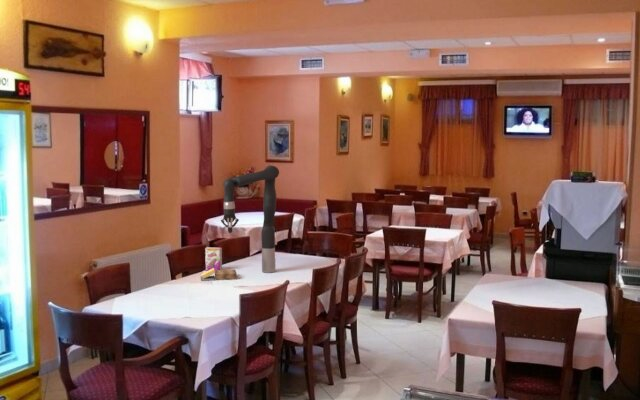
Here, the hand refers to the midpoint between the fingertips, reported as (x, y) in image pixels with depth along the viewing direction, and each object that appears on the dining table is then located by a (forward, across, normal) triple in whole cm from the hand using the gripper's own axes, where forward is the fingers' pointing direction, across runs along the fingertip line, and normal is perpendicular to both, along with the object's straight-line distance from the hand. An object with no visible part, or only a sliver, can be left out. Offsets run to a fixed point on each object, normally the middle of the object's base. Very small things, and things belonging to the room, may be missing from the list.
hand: (230, 232), depth 434 cm
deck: (+29, +5, +10) cm, 31 cm away
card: (+27, +16, +9) cm, 32 cm away
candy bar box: (+29, +12, -16) cm, 35 cm away
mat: (+29, +17, +10) cm, 35 cm away
